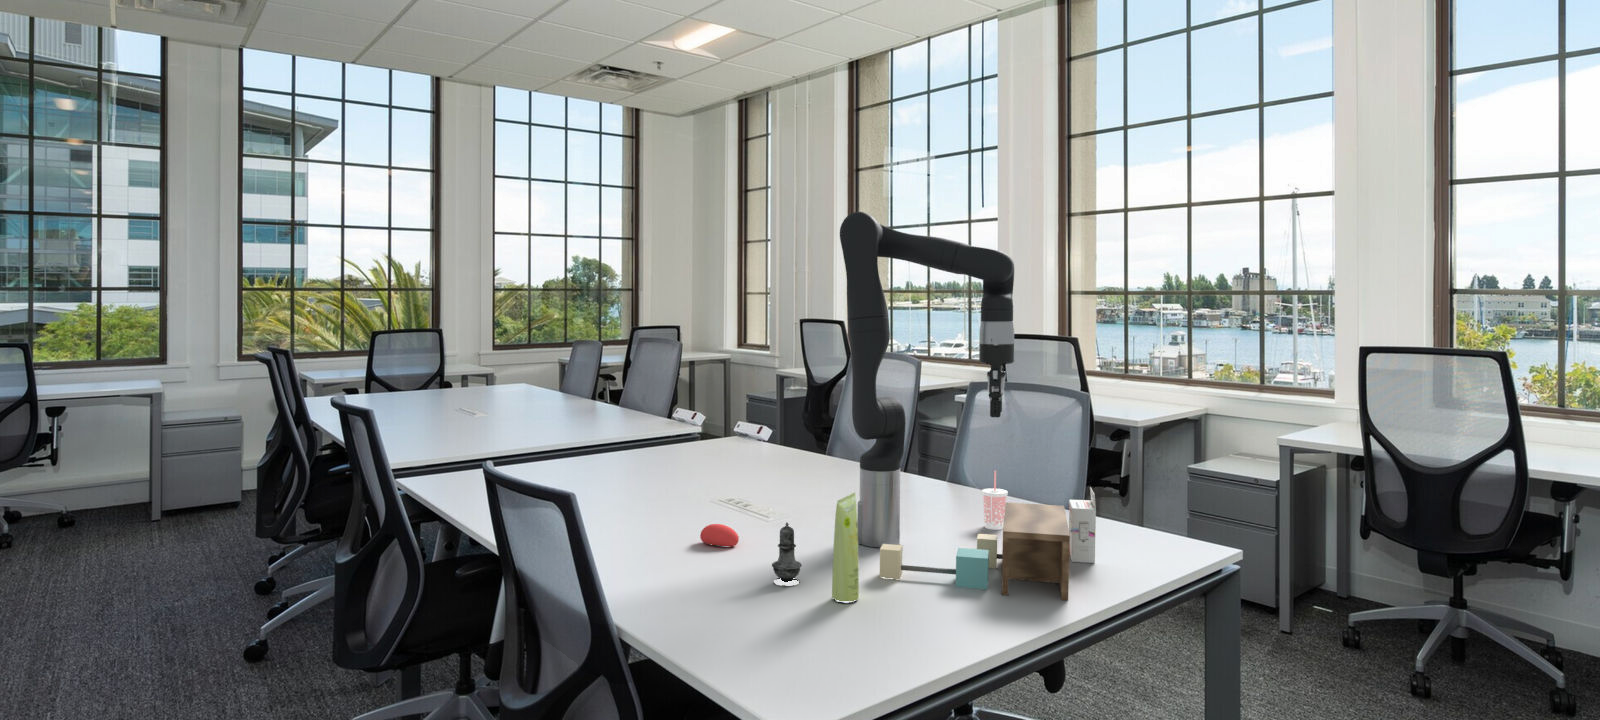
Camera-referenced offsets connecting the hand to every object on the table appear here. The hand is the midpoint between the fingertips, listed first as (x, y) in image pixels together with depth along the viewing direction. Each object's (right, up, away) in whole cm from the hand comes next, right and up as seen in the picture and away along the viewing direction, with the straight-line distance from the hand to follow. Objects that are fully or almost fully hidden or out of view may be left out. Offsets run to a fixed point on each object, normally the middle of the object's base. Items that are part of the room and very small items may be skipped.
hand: (996, 414), depth 196 cm
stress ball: (-62, -30, +3) cm, 69 cm away
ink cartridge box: (+17, -31, -5) cm, 36 cm away
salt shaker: (-46, -32, -23) cm, 61 cm away
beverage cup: (+4, -29, +20) cm, 35 cm away
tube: (-35, -32, -33) cm, 58 cm away
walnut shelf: (+3, -31, -20) cm, 37 cm away
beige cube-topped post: (+1, -31, -13) cm, 33 cm away
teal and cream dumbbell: (-17, -31, -21) cm, 42 cm away
